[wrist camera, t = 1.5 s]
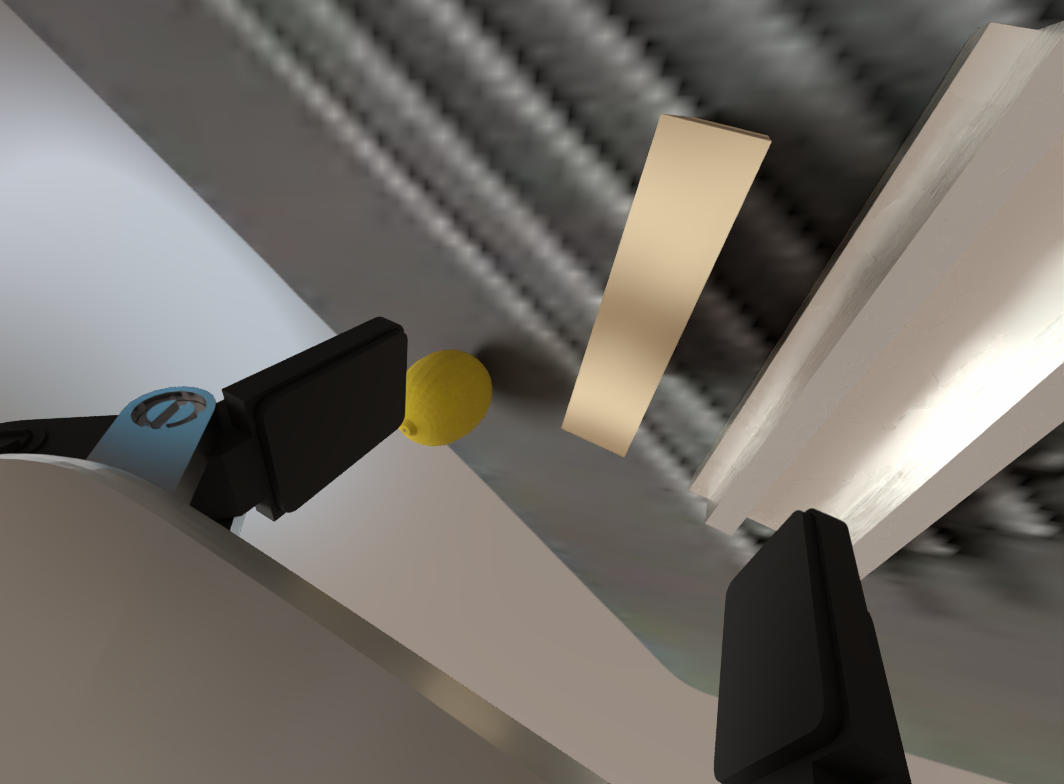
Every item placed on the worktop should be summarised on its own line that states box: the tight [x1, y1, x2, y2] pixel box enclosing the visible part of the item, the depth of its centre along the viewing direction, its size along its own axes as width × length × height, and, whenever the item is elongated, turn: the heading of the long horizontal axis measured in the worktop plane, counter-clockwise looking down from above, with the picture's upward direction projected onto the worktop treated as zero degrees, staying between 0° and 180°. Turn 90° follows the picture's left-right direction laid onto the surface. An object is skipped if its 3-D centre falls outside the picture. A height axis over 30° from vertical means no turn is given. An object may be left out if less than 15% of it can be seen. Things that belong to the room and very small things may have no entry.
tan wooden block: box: [562, 114, 772, 457], centre depth 18 cm, size 12×3×8 cm, turn 168°
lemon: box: [399, 350, 492, 446], centre depth 27 cm, size 6×6×8 cm
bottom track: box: [689, 21, 1064, 580], centre depth 18 cm, size 22×10×3 cm, turn 168°
